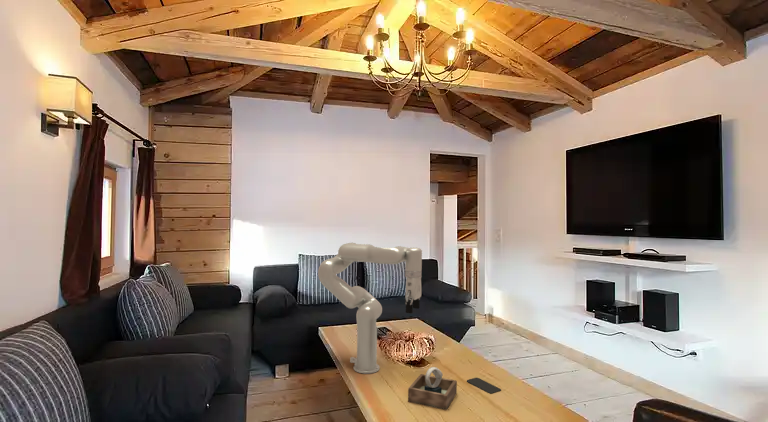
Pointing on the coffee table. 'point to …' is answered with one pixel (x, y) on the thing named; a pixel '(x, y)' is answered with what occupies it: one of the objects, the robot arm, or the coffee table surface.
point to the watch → (435, 386)
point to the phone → (483, 385)
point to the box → (432, 398)
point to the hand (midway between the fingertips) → (412, 310)
